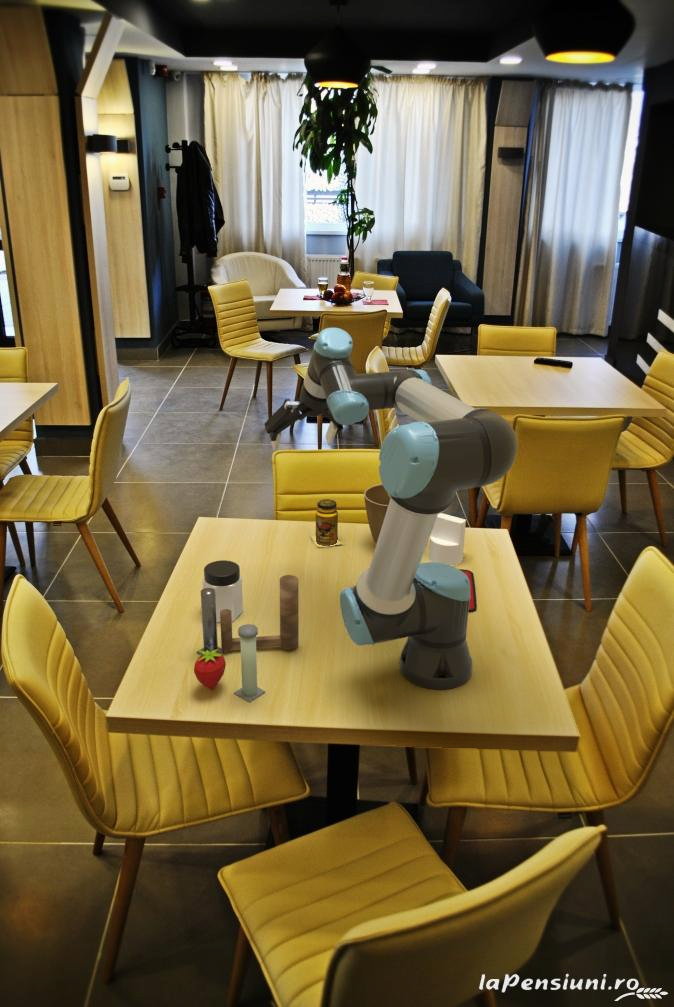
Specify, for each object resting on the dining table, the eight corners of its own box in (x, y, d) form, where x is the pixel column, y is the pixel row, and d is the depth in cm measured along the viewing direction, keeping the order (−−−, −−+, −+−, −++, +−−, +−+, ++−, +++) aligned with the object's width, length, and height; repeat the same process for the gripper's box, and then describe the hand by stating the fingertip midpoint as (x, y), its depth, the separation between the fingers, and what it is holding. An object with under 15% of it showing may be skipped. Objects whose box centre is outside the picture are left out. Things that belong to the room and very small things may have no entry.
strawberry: (188, 696, 168) (186, 653, 164) (206, 675, 175) (204, 634, 171) (215, 702, 167) (213, 659, 163) (232, 682, 173) (231, 640, 169)
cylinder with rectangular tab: (422, 560, 225) (425, 519, 221) (439, 548, 232) (441, 508, 227) (452, 569, 221) (456, 527, 216) (468, 557, 227) (472, 516, 223)
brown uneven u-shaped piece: (221, 653, 181) (218, 587, 175) (221, 643, 185) (218, 578, 179) (299, 648, 183) (299, 583, 177) (297, 638, 187) (297, 574, 181)
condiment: (317, 548, 231) (318, 508, 226) (309, 535, 238) (309, 496, 233) (343, 545, 233) (344, 505, 228) (334, 533, 240) (334, 494, 235)
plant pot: (353, 541, 235) (354, 488, 229) (400, 532, 241) (402, 480, 234) (378, 564, 222) (380, 508, 216) (427, 554, 228) (430, 499, 222)
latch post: (265, 692, 170) (264, 628, 164) (249, 702, 167) (247, 638, 161) (249, 683, 173) (248, 621, 167) (234, 693, 169) (231, 629, 164)
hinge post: (225, 651, 183) (222, 590, 177) (210, 660, 180) (207, 598, 174) (211, 644, 186) (208, 584, 180) (196, 652, 183) (192, 591, 177)
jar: (241, 603, 203) (240, 558, 198) (244, 621, 195) (242, 574, 190) (203, 606, 201) (201, 561, 196) (204, 624, 194) (202, 577, 189)
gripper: (368, 368, 189) (345, 425, 207) (260, 377, 181) (246, 436, 198) (378, 395, 186) (354, 450, 203) (269, 405, 177) (254, 462, 195)
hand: (301, 443), depth 201 cm, fingers open, 13 cm apart
